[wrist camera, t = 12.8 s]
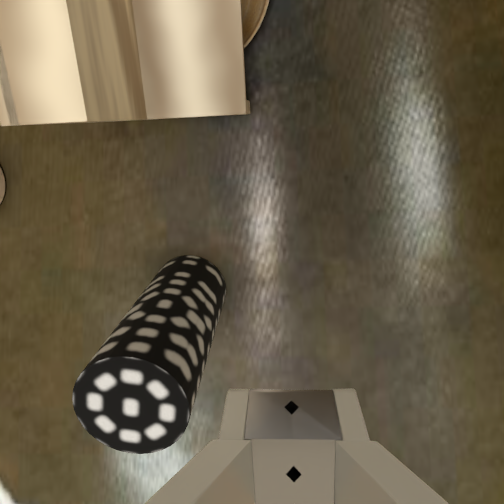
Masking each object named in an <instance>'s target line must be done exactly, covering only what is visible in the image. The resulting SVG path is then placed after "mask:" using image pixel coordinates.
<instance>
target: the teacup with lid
mask: <svg viewBox="0 0 504 504" xmlns="http://www.w3.org/2000/svg"><path fill="white" fill-rule="evenodd" d="M4 194H5V179H4V175H3V172H2V169H1V167H0V204H1V202H2V200H3V197H4Z"/></svg>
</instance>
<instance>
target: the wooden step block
mask: <svg viewBox="0 0 504 504" xmlns="http://www.w3.org/2000/svg"><path fill="white" fill-rule="evenodd" d="M243 114H250V101H248V100H246V85H245V65H244V46H243V26H242V7H241V0H0V123H1V126H13V125H38V124H63V123H88V122H113V121H131V120H150V119H168V118H187V117H206V116H224V115H243Z"/></svg>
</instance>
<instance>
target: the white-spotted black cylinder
mask: <svg viewBox="0 0 504 504" xmlns="http://www.w3.org/2000/svg"><path fill="white" fill-rule="evenodd" d="M225 296H226V285H225V281H224V278H223V276H222V274H221V273H220V271H219V270H218V269H217V268H216V267H215V266H214V265H213V264H212V263H210V262H209V261H207V260H205V259H203V258H201V257H196V256H187V255H186V256H180V257H177V258H174V259H172V260H170V261H169V262H167V263H166V264H165V265H164V266H163V267H162V268H161V270H160V271H159V272H158V274H157V275H156V276H155V277H154V279H153V280H152V281H151V283H150V284H149V285H148V287H147V288H146V289H145V291H144V292H143V293H142V294H141V296H140V297H139V298H138V300H137V301H136V302H135V304H134V305H133V306H132V308H131V309H130V310H129V311H128V313H127V314H126V315H125V317H124V318H123V319H122V321H121V322H120V323H119V325H118V326H117V327H116V328H115V330H114V331H113V332H112V334H111V335H110V336H109V338H108V339H107V340H106V341H105V343H104V344H103V345H102V347H101V348H100V349H99V351H98V352H97V353H96V355H95V356H94V357H93V358H92V360H91V361H90V362H89V364H88V365H87V366H86V368H85V369H84V370H83V372H82V373H81V374H80V376H79V377H78V379H77V380H76V383H75V386H74V389H73V397H72V399H73V406H74V410H75V413H76V415H77V418H78V419H79V421H80V422H81V424H82V426H83V427H84V428H85V429H86V430H87V431H88V432H89V434H91V435H92V436H93V437H94V438H96V439H97V440H98V441H100V442H101V443H103V444H105V445H107V446H108V447H111V448H114V449H116V450H119V451H123V452H128V453H137V454H144V453H153V452H156V451H160V450H163V449H165V448H167V447H169V446H171V445H172V444H173V443H175V442H176V441H177V440H178V439H179V438H180V437H181V436H182V435H183V433H184V431H185V429H186V427H187V425H188V422H189V419H190V415H191V412H192V409H193V405H194V402H195V398H196V395H197V392H198V388H199V385H200V381H201V378H202V375H203V371H204V368H205V364H206V361H207V358H208V354H209V351H210V347H211V344H212V341H213V337H214V334H215V330H216V327H217V324H218V320H219V317H220V313H221V310H222V307H223V303H224V300H225Z"/></svg>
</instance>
